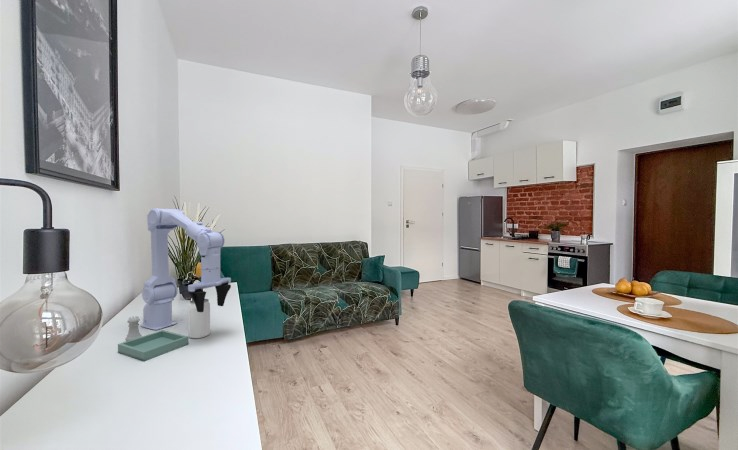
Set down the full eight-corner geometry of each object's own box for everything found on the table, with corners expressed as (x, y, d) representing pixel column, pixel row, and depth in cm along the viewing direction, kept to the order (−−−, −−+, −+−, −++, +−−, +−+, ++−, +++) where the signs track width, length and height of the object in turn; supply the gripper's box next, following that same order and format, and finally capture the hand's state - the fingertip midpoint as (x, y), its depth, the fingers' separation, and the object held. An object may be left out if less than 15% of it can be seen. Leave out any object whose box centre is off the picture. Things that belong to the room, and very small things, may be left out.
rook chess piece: (132, 345, 95) (132, 320, 95) (121, 344, 96) (121, 319, 96) (145, 340, 99) (145, 315, 99) (134, 338, 100) (134, 314, 100)
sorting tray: (117, 352, 90) (117, 344, 90) (163, 337, 102) (163, 330, 102) (143, 361, 84) (143, 352, 84) (188, 344, 96) (188, 336, 96)
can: (203, 339, 100) (203, 303, 100) (184, 338, 101) (184, 303, 100) (213, 332, 107) (213, 298, 107) (195, 331, 107) (195, 298, 107)
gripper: (198, 272, 92) (198, 316, 93) (237, 266, 106) (237, 304, 106) (183, 270, 95) (183, 313, 96) (223, 264, 109) (222, 302, 109)
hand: (210, 308), depth 101 cm, fingers open, 7 cm apart
